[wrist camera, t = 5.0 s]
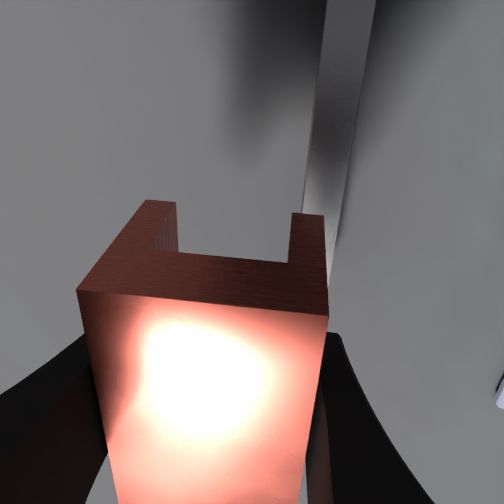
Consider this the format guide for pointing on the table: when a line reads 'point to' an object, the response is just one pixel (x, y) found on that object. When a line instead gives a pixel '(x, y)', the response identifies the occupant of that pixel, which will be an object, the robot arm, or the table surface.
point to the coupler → (336, 110)
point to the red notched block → (205, 363)
